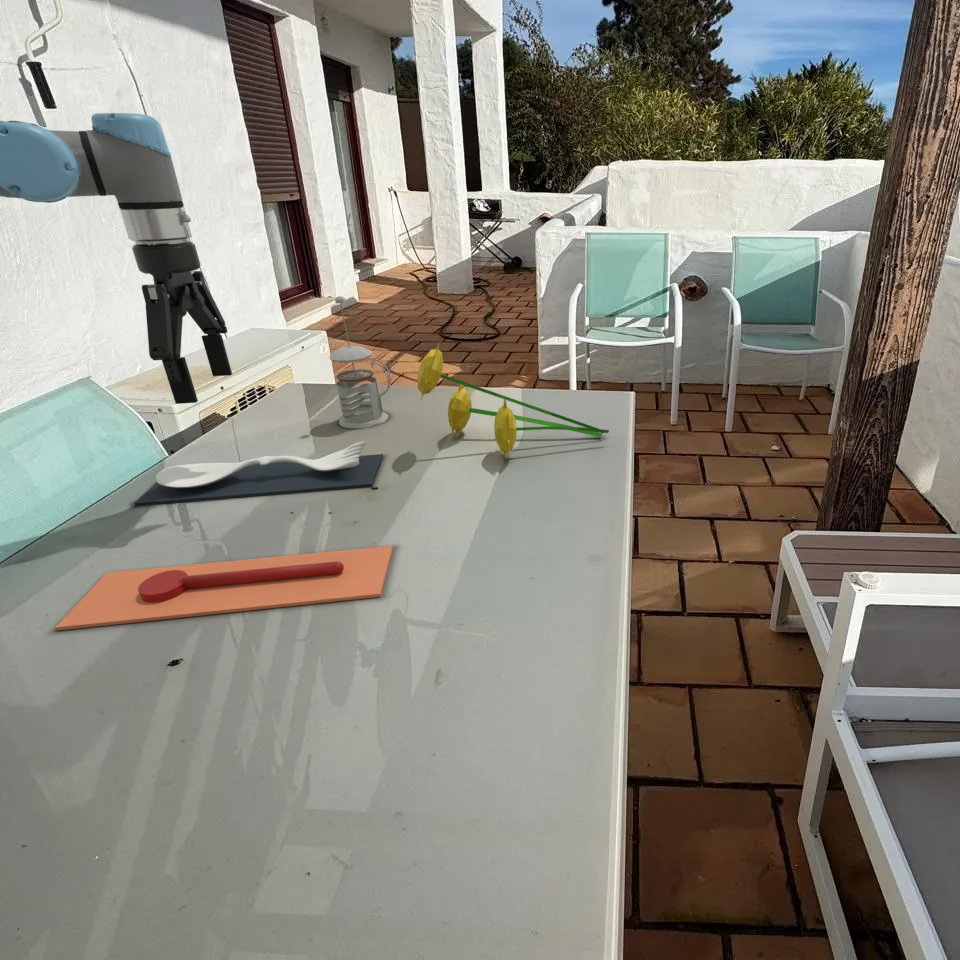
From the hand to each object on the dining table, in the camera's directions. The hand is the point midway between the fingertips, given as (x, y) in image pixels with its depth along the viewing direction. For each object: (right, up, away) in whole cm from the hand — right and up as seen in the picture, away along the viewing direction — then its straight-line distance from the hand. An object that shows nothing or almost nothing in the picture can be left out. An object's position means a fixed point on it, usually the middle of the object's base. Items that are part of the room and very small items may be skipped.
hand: (206, 388), depth 98 cm
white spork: (+5, -14, +9) cm, 17 cm away
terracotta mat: (+15, -28, -18) cm, 36 cm away
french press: (+13, -2, +34) cm, 36 cm away
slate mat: (+5, -14, +9) cm, 17 cm away
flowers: (+45, -7, +22) cm, 50 cm away
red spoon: (+15, -27, -18) cm, 36 cm away
